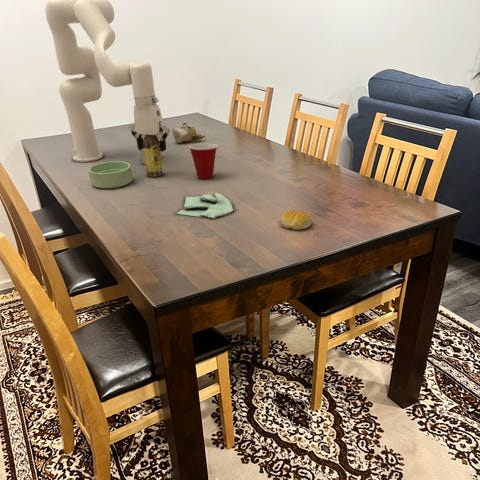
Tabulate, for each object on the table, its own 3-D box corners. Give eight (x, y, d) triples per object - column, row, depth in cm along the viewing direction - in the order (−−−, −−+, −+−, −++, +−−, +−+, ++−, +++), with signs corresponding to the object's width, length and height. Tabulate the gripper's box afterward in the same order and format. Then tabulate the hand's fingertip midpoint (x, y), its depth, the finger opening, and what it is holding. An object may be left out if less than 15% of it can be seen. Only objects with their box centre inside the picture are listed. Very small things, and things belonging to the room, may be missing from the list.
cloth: (216, 222, 146) (216, 214, 145) (161, 210, 156) (160, 203, 155) (250, 200, 160) (250, 193, 159) (198, 191, 170) (197, 184, 169)
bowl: (83, 184, 181) (80, 168, 178) (117, 174, 191) (114, 159, 187) (107, 192, 173) (104, 176, 169) (141, 181, 182) (138, 165, 178)
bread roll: (288, 217, 147) (288, 205, 145) (314, 222, 143) (315, 210, 141) (275, 227, 142) (275, 214, 140) (302, 232, 138) (302, 219, 135)
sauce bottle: (159, 178, 184) (151, 123, 173) (144, 177, 186) (136, 123, 175) (166, 173, 189) (159, 119, 178) (151, 172, 191) (144, 119, 180)
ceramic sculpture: (166, 122, 225) (194, 119, 232) (168, 141, 230) (195, 138, 237) (177, 126, 218) (205, 123, 225) (178, 146, 222) (206, 142, 229)
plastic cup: (223, 173, 186) (221, 141, 179) (213, 182, 178) (211, 149, 171) (198, 171, 189) (195, 140, 183) (186, 180, 181) (183, 147, 174)
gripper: (171, 100, 173) (176, 148, 182) (130, 99, 178) (138, 146, 188) (160, 104, 167) (167, 154, 177) (119, 102, 173) (127, 151, 182)
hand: (152, 150), depth 182 cm, fingers open, 9 cm apart
